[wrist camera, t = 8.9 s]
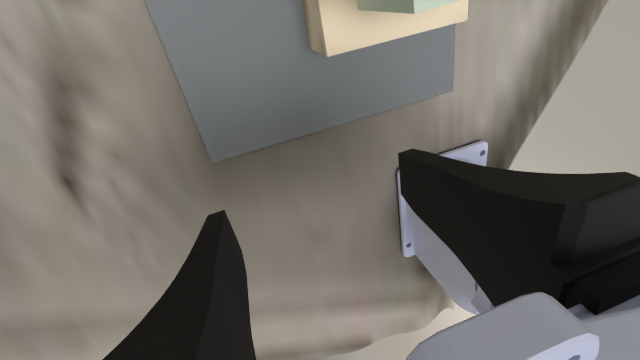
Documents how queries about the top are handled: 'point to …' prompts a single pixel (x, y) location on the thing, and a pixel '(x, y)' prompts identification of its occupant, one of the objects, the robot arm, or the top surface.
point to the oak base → (369, 24)
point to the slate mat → (287, 72)
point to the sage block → (401, 5)
